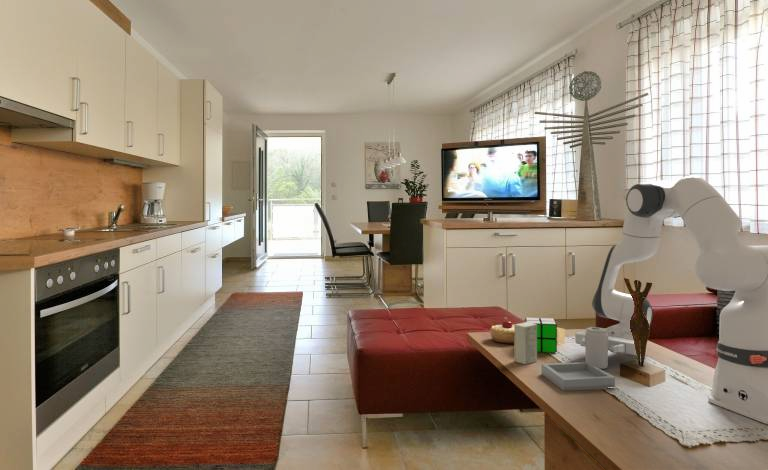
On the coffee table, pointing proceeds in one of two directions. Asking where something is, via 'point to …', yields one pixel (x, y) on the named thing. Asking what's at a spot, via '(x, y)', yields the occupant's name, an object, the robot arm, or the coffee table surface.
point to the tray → (577, 376)
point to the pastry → (503, 332)
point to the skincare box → (525, 342)
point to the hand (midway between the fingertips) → (597, 346)
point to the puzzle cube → (545, 334)
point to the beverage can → (596, 347)
